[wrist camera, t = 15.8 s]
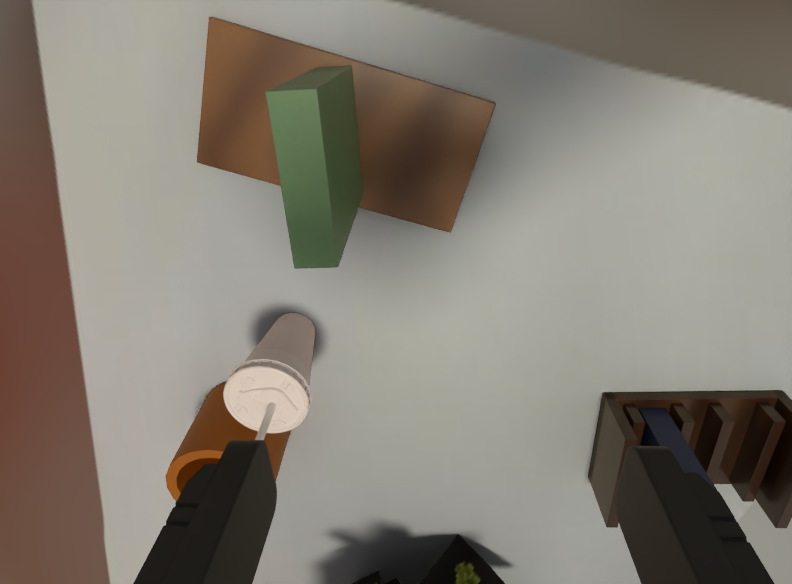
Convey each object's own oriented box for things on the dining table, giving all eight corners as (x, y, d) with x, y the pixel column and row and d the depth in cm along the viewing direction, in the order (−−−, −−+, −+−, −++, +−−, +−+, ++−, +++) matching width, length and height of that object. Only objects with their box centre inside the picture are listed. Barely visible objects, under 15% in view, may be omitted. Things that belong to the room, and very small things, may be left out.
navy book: (665, 407, 47) (744, 534, 35) (647, 477, 51) (713, 610, 39) (638, 407, 47) (708, 533, 35) (623, 477, 51) (681, 609, 40)
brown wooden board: (495, 102, 36) (496, 103, 35) (450, 230, 40) (450, 233, 40) (212, 16, 34) (208, 16, 34) (199, 160, 39) (196, 162, 38)
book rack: (782, 390, 46) (829, 438, 41) (749, 476, 51) (787, 528, 46) (602, 392, 47) (625, 439, 42) (588, 476, 52) (606, 527, 47)
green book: (351, 65, 35) (317, 88, 23) (363, 194, 39) (338, 267, 27) (316, 67, 35) (265, 91, 23) (331, 195, 39) (294, 268, 27)
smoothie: (321, 367, 47) (286, 489, 35) (253, 349, 47) (193, 467, 34) (337, 311, 44) (305, 422, 32) (265, 290, 44) (204, 396, 31)
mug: (177, 439, 53) (134, 513, 45) (228, 363, 48) (189, 432, 40) (254, 476, 55) (226, 554, 47) (310, 408, 50) (289, 482, 42)
